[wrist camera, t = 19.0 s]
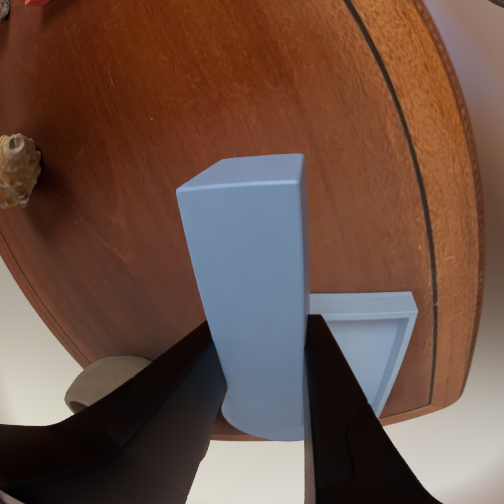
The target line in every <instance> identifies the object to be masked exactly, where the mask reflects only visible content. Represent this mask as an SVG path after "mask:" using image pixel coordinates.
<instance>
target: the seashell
mask: <svg viewBox="0 0 504 504" xmlns="http://www.w3.org/2000/svg"><path fill="white" fill-rule="evenodd" d="M34 144H35V143H34V141H33V140H32V139H30V138H29V139H28V138H27V137H26V136H23V135H22V134H14V135H12V136H10V137H9V136H7V135H3V136H2V137H1V138H0V207H1V208H9V207H12V206H15V205H17V204H19V206H20V207H21V208H24V207H26V206H27V205H28V203H29V196H30V194H31V192H32V189H33V187H34V185H35V184H36V182H37V178H38V176H39V174H40V172H41V167H40V165H39V162H40V159H41V153H40V152H39V151H37V150H35V146H34Z"/></svg>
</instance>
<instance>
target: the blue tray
mask: <svg viewBox="0 0 504 504" xmlns="http://www.w3.org/2000/svg"><path fill="white" fill-rule="evenodd" d="M310 314H321V315H322V316H323V318H324V320H325V321H326V323H327V325H328V327H329V329H330V331H331V332H332V334H333V336H334V338H335V340H336V341H337V343H338V345H339V347H340V349H341V351H342V352H343V354H344V356H345V358H346V360H347V362H348V364H349V365H350V367H351V369H352V371H353V373H354V375H355V377H356V379H357V380H358V382H359V384H360V386H361V388H362V390H363V392H364V394H365V396H366V398H367V400H368V403H369V404H370V405H371V407H372V409H373V411H374V413H375V415H376V417H377V418H379V416H380V414H381V412H382V410H383V407H384V405H385V403H386V401H387V398H388V396H389V394H390V391H391V389H392V387H393V384H394V382H395V379H396V377H397V374H398V372H399V369H400V366H401V364H402V361H403V358H404V355H405V353H406V350H407V347H408V344H409V341H410V338H411V334H412V331H413V328H414V325H415V321H416V317H417V314H418V309H417V306H416V303H415V300H414V298H413V296H412V292H411V291H407V292H381V293H339V294H310Z"/></svg>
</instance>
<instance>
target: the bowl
mask: <svg viewBox="0 0 504 504" xmlns="http://www.w3.org/2000/svg"><path fill="white" fill-rule="evenodd" d="M151 362H153V361H151V360H148V359H146V358H142V357H137V356H111V357H106V358H102V359H100V360H98V361H95V362H94V363H92V364H91V365H89V366H88V367H87V368H86V369H85V370H84V371H83V372H82V373H80V374H79V375H78V377H77V378H76V379H75V381H74V382H73V383H72V385H71V386H70V387H69V389H68V391H67V392H66V395H65V402H66V404H67V406H68V407H69V408H70V410H71V411H72V412H73V413H74V414H76V413H78V412H79V411H81V410H83V409H84V408H86V407H88V406H90V405H91V404H93V403H95V402H96V401H98V400H100V399H101V398H103V397H104V396H106V395H108V394H109V393H111V392H112V391H114V390H115V389H116V388H118V387H119V386H121V385H122V384H123V383H125V382H126V381H127V380H129V379H130V378H132V377H133V378H134V375H136V374H137V373H138V372H140V371H141V370H142V369H144V368H145V367H146V366H148V365H149V364H150V363H151ZM210 439H211V433H210V435H209V438H208V441H207V444H206V447H205V450H204V453H203V455H202V458H201V461H202V459H203V458H204V457H205V455H206V452H207V450H208V447H209V443H210ZM201 461H200V462H201Z"/></svg>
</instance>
